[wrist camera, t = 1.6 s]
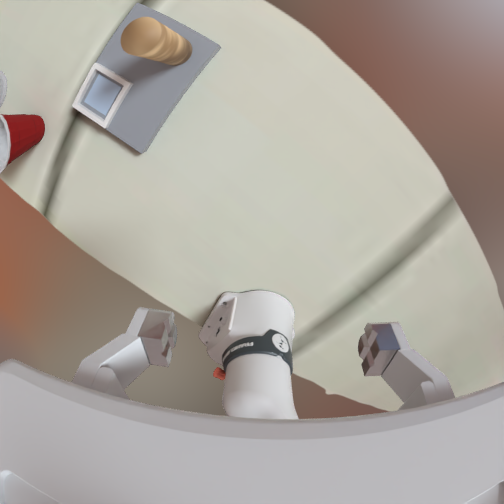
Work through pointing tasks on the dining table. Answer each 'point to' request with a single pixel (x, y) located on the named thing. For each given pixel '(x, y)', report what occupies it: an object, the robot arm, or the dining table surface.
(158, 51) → the oak column
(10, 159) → the plastic cup
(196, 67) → the board
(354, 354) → the dining table surface
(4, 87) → the french press
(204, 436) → the robot arm
